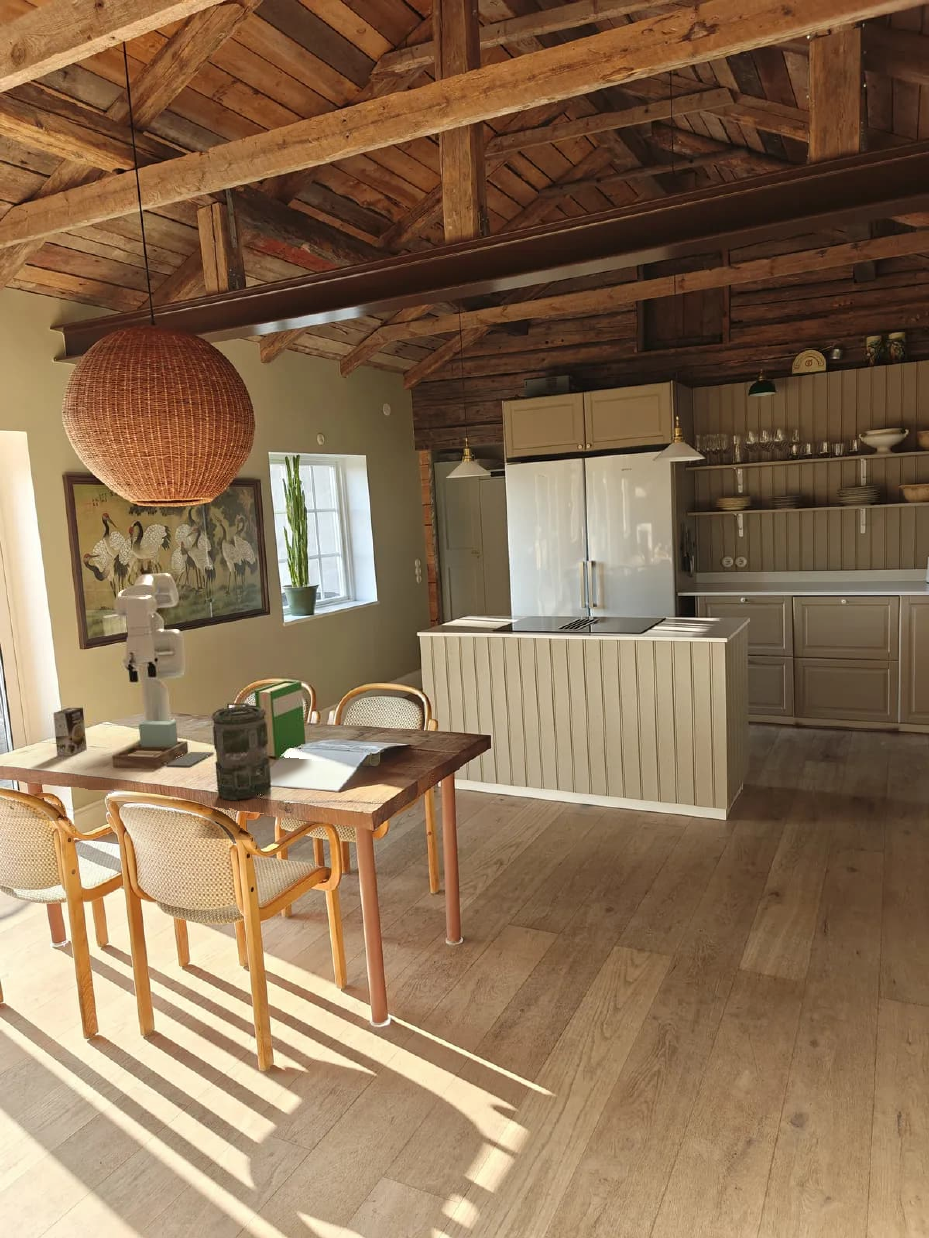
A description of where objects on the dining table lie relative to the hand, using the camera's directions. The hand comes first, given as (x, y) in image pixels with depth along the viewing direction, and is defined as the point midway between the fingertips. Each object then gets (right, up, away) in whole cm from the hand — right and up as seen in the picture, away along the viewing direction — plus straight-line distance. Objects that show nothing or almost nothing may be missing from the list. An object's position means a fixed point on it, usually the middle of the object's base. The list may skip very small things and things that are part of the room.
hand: (143, 679), depth 309 cm
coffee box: (-31, -28, +12) cm, 43 cm away
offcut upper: (+3, -27, -6) cm, 28 cm away
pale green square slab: (+5, -28, +3) cm, 28 cm away
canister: (+48, -32, -45) cm, 73 cm away
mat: (+19, -28, -5) cm, 34 cm away
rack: (+4, -28, -2) cm, 29 cm away
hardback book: (+50, -26, +1) cm, 56 cm away
